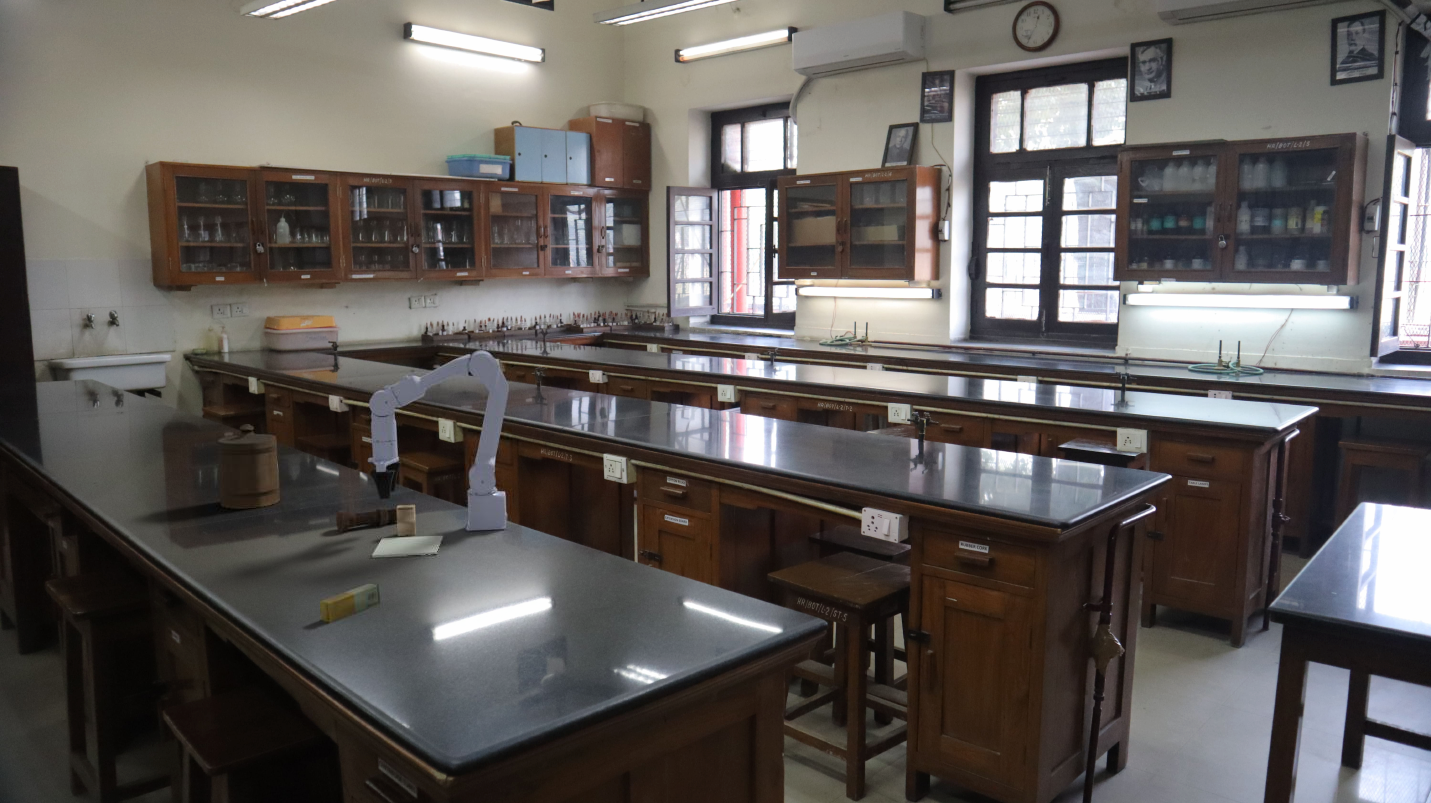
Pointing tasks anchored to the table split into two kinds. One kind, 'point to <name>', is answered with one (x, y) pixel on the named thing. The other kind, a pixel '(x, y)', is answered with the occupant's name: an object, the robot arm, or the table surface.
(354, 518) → the bolt
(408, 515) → the slab
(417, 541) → the board
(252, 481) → the wooden container
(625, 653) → the table surface
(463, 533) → the table surface
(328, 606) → the medication box
